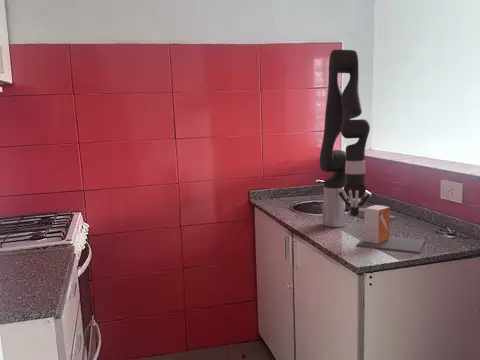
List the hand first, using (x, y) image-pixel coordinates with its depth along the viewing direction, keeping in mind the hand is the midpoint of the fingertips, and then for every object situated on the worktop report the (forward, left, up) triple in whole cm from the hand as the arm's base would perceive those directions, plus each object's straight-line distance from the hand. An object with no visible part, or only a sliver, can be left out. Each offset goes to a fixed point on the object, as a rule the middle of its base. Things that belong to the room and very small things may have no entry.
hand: (355, 216), depth 175 cm
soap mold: (-3, +42, -10) cm, 43 cm away
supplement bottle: (-19, +55, -10) cm, 59 cm away
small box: (+8, 0, -9) cm, 12 cm away
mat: (+14, 0, -10) cm, 17 cm away
